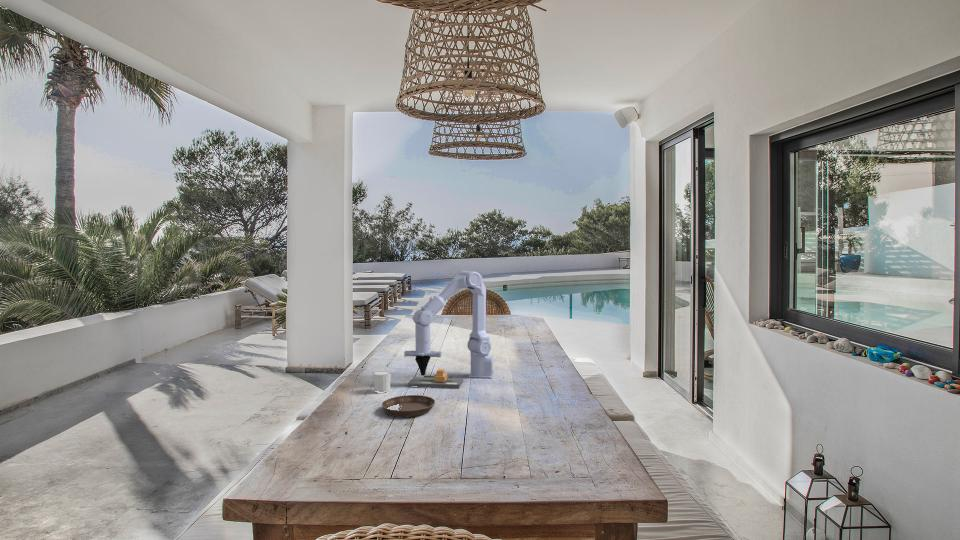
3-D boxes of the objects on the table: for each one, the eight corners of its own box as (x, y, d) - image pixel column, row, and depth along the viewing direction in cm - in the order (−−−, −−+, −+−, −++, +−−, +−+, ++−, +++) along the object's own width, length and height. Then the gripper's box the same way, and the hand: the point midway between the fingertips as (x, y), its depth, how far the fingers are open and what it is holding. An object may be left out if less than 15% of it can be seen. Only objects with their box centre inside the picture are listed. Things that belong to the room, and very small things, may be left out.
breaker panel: (463, 382, 234) (463, 378, 233) (458, 388, 224) (458, 384, 224) (414, 380, 236) (414, 376, 236) (407, 387, 226) (407, 382, 226)
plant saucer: (385, 421, 186) (384, 412, 186) (379, 405, 203) (379, 397, 203) (439, 416, 190) (439, 407, 190) (429, 401, 207) (429, 393, 207)
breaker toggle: (447, 378, 232) (447, 368, 231) (444, 381, 227) (444, 371, 227) (437, 378, 232) (437, 368, 232) (434, 381, 227) (434, 371, 227)
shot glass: (393, 389, 224) (393, 370, 223) (388, 394, 217) (388, 375, 216) (375, 388, 224) (375, 370, 224) (370, 393, 217) (370, 374, 217)
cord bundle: (452, 378, 239) (452, 376, 239) (451, 380, 236) (451, 377, 236) (423, 378, 240) (423, 375, 240) (422, 379, 238) (422, 377, 238)
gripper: (402, 342, 227) (402, 376, 227) (438, 342, 225) (439, 378, 225) (406, 338, 234) (407, 372, 234) (442, 339, 232) (442, 373, 232)
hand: (423, 375), depth 230 cm, fingers closed
